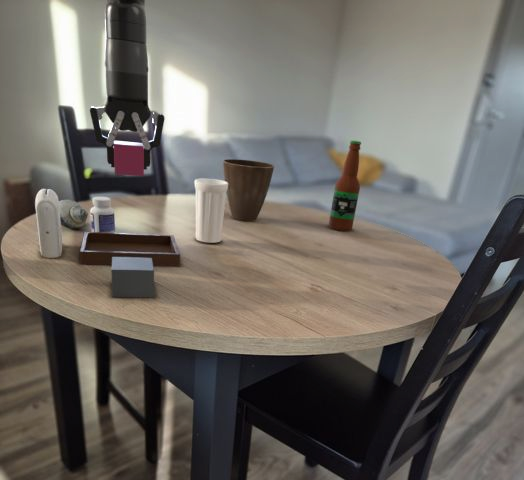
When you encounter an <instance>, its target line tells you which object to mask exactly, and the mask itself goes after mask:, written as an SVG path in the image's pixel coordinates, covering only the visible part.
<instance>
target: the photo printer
mask: <svg viewBox="0 0 524 480" xmlns="http://www.w3.org/2000/svg"><path fill="white" fill-rule="evenodd" d="M59 201H60V200H59V196H58V194H57V193H56V192H55V191H54V190H53V189H51V188H48V189H47V188H41V189H40V190H38V192H37V193H36V196H35V201H34V206H35V215H36V224H37V225H36V226H37V233H38V243H39V251H40V254H41V256H42V257H44V258H48V259H56V258H59V257H61V256H62V253H63V234H62V232H63V231H62V225H61V220H60V210H59Z"/></svg>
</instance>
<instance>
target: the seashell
mask: <svg viewBox="0 0 524 480" xmlns="http://www.w3.org/2000/svg"><path fill="white" fill-rule="evenodd" d="M59 210H60V220H61V226H63V227H65V229H70V230H78V229H80V228H82V227H83V226H84V225H85V224H86V222H87V219H88V217H89V213H88V212H87V210H86V209H84V208H83V207H82V206H80V205H79V204H78V202H76V201H75V200H73V199H68V198H67V199H61V200H59Z"/></svg>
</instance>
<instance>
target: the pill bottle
mask: <svg viewBox="0 0 524 480" xmlns="http://www.w3.org/2000/svg"><path fill="white" fill-rule="evenodd" d="M111 206H112V198H111V197H107V196H93V197H92V207H91V208H90V209H89V210H90V212H89V213H90V227H91V232H103V233H116V218H115V210H114V209H113V207H111Z"/></svg>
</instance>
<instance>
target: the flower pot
mask: <svg viewBox="0 0 524 480" xmlns="http://www.w3.org/2000/svg"><path fill="white" fill-rule="evenodd" d="M222 165H223V166H222V167H223V168H222V169H223V179H224V180H223V181H226V182H228V189H227V192H226V199H227V202H228V203H227V204H228V206H229V211H230V214H231V217H232V219H234V220H237V221H241V222H255V221H256V220H257V219H258V217H259V215H260V213H261V210H262V208H263V206H264V203H265V201H266V198H267V194H268V192H269V189H270V185H271V182H272V178H273V173H274V170H275V164H272V163H269V162H262V161H256V160H249V159H239V158H238V159H234V158H228V159H226V158H225V159H223V160H222Z"/></svg>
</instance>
